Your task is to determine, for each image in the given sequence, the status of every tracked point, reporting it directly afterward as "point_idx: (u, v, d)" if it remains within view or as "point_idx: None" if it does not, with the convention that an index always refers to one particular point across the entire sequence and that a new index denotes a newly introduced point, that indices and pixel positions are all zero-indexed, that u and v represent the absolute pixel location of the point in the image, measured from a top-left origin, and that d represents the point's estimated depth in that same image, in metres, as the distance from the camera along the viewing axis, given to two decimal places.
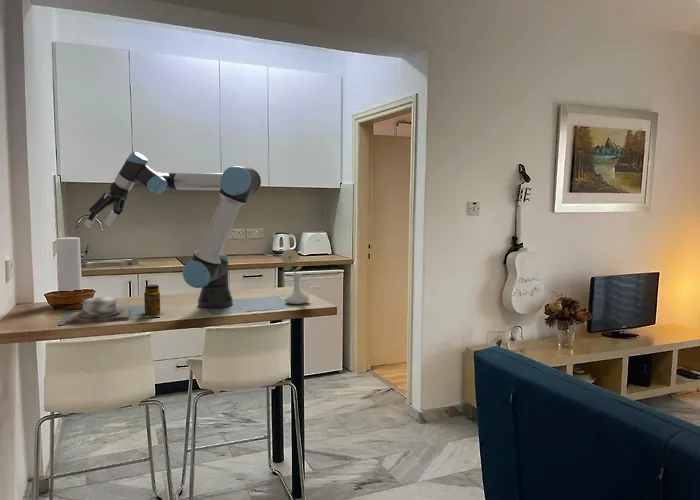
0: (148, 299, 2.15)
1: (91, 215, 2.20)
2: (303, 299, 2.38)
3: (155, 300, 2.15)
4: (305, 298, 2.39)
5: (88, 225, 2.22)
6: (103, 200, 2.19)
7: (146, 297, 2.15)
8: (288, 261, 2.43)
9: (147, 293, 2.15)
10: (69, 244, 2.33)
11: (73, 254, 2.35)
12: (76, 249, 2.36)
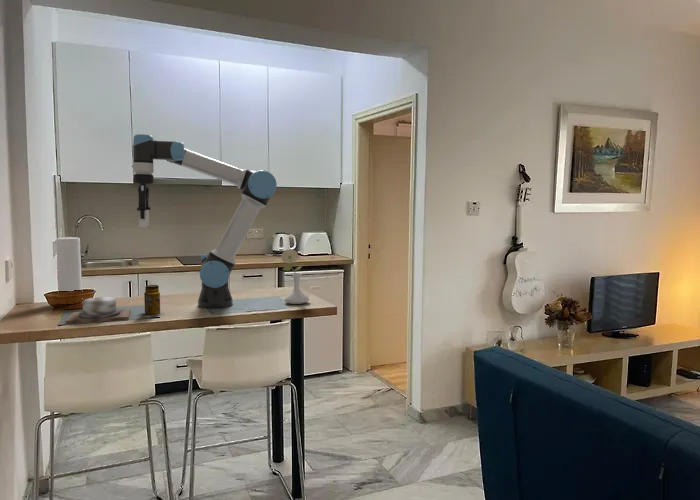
0: (148, 299, 2.15)
1: (142, 213, 2.06)
2: (303, 299, 2.38)
3: (155, 300, 2.15)
4: (305, 298, 2.39)
5: (144, 225, 2.08)
6: (143, 192, 2.06)
7: (146, 297, 2.15)
8: (288, 261, 2.43)
9: (147, 293, 2.15)
10: (69, 244, 2.33)
11: (73, 254, 2.35)
12: (76, 249, 2.36)
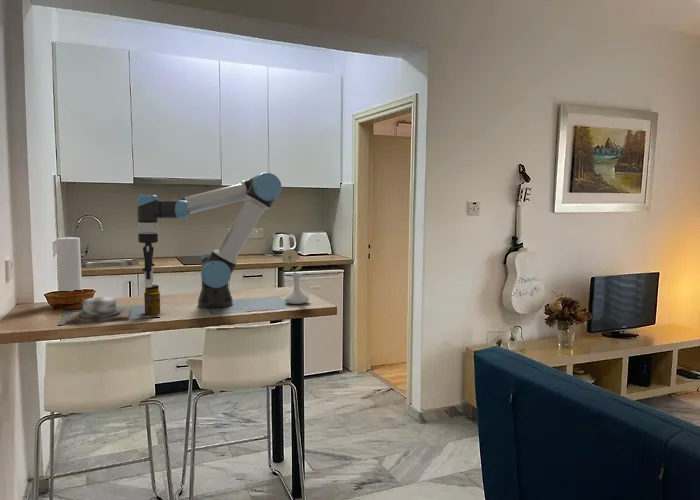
0: (148, 299, 2.15)
1: (148, 273, 2.08)
2: (303, 299, 2.38)
3: (155, 300, 2.15)
4: (305, 298, 2.39)
5: (150, 285, 2.10)
6: (149, 253, 2.08)
7: (146, 297, 2.15)
8: (288, 261, 2.43)
9: (147, 293, 2.15)
10: (69, 244, 2.33)
11: (73, 254, 2.35)
12: (76, 249, 2.36)
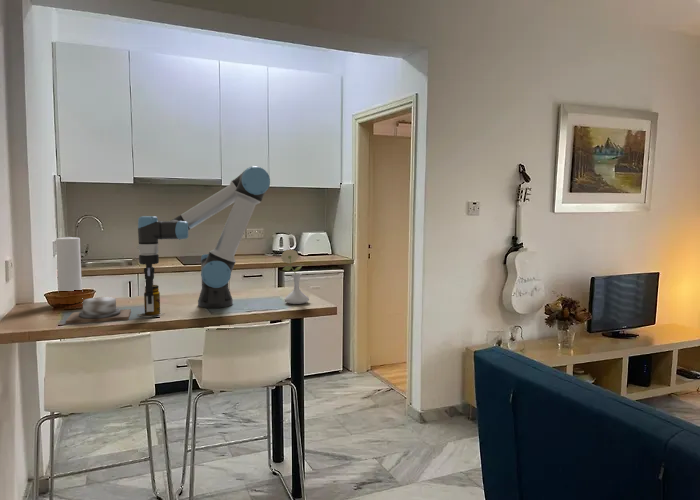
0: None
1: (149, 298, 2.12)
2: (303, 299, 2.38)
3: (155, 300, 2.15)
4: (305, 298, 2.39)
5: (151, 309, 2.14)
6: (150, 278, 2.10)
7: None
8: (288, 261, 2.43)
9: None
10: (69, 244, 2.33)
11: (73, 254, 2.35)
12: (76, 249, 2.36)
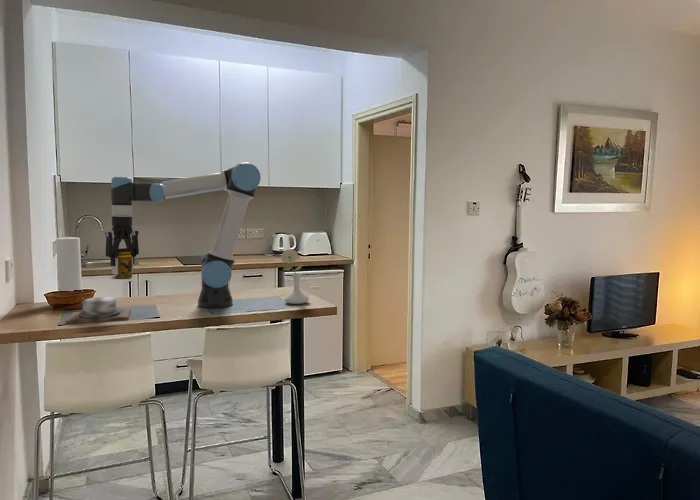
0: None
1: (111, 260, 2.08)
2: (303, 299, 2.38)
3: (119, 263, 2.09)
4: (305, 298, 2.39)
5: (115, 272, 2.09)
6: (108, 239, 2.06)
7: None
8: (288, 261, 2.43)
9: None
10: (69, 244, 2.33)
11: (73, 254, 2.35)
12: (76, 249, 2.36)
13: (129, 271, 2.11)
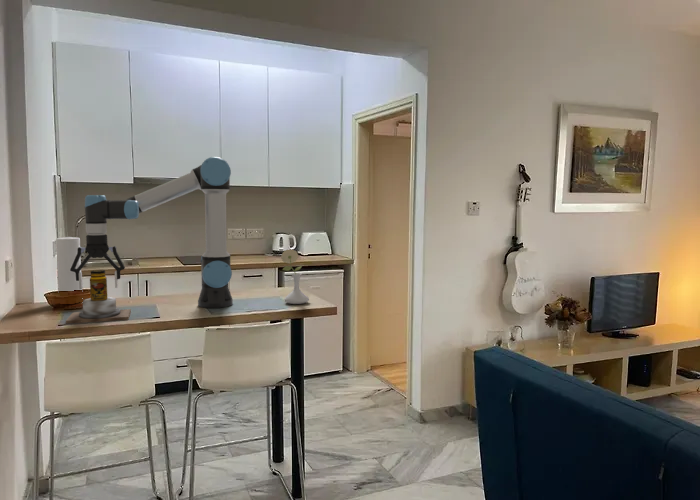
0: None
1: (76, 275, 2.07)
2: (303, 299, 2.38)
3: (90, 285, 2.07)
4: (305, 298, 2.39)
5: None
6: (77, 254, 2.06)
7: None
8: (288, 261, 2.43)
9: None
10: (69, 244, 2.33)
11: (73, 254, 2.35)
12: (76, 249, 2.36)
13: (99, 294, 2.07)
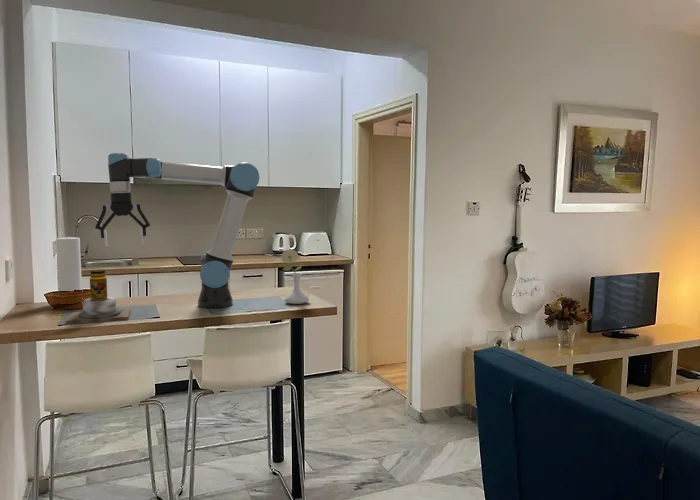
0: None
1: (101, 232, 2.10)
2: (303, 299, 2.38)
3: (90, 285, 2.07)
4: (305, 298, 2.39)
5: (105, 244, 2.10)
6: (102, 212, 2.09)
7: None
8: (288, 261, 2.43)
9: None
10: (69, 244, 2.33)
11: (73, 254, 2.35)
12: (76, 249, 2.36)
13: (99, 294, 2.07)
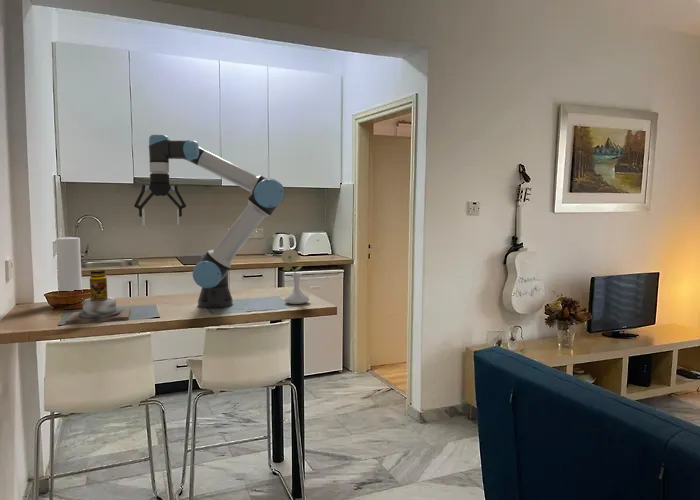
0: None
1: (139, 211, 2.16)
2: (303, 299, 2.38)
3: (90, 285, 2.07)
4: (305, 298, 2.39)
5: (142, 223, 2.16)
6: (141, 191, 2.15)
7: None
8: (288, 261, 2.43)
9: None
10: (69, 244, 2.33)
11: (73, 254, 2.35)
12: (76, 249, 2.36)
13: (99, 294, 2.07)
